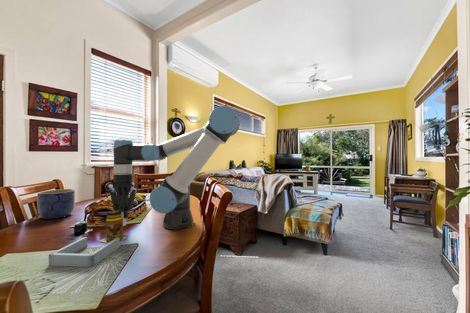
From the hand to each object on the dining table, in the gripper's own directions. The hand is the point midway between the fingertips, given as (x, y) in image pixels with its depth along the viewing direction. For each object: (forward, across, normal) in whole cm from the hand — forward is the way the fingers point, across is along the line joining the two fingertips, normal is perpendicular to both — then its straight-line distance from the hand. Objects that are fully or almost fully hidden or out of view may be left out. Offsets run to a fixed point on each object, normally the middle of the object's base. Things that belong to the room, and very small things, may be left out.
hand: (123, 225), depth 93 cm
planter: (+4, +55, -22) cm, 60 cm away
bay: (+4, -1, +21) cm, 21 cm away
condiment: (+4, 0, +7) cm, 8 cm away
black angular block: (+4, +20, +1) cm, 21 cm away
